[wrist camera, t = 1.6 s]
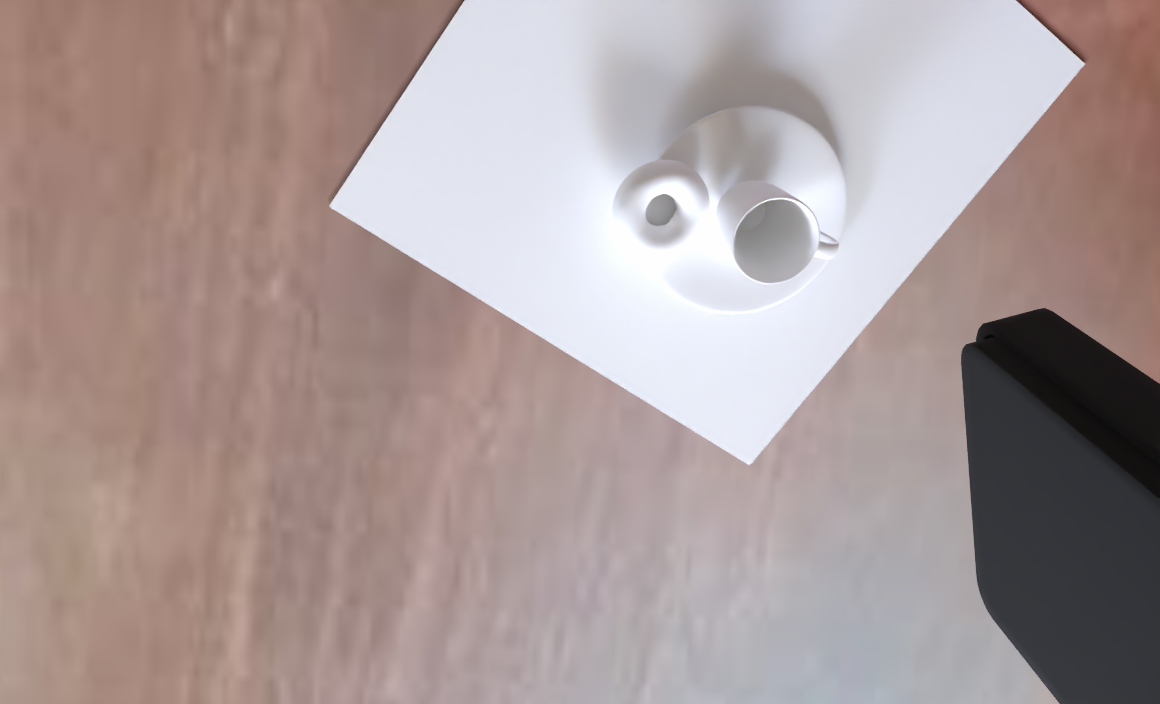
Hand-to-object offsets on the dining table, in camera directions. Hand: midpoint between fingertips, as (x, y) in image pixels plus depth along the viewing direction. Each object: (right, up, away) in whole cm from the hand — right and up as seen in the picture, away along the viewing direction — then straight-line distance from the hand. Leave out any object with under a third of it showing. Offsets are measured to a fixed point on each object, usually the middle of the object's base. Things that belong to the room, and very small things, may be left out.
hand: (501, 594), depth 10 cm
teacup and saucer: (+6, +10, +30) cm, 32 cm away
